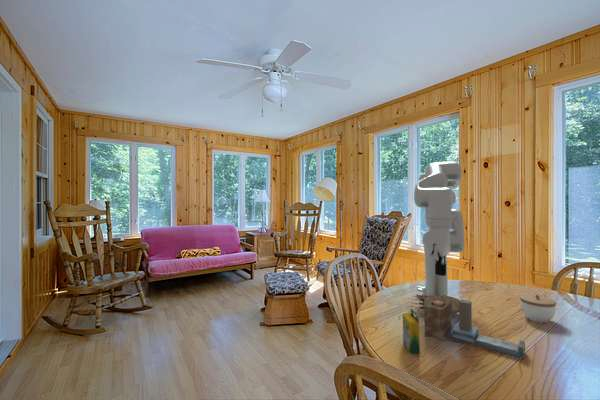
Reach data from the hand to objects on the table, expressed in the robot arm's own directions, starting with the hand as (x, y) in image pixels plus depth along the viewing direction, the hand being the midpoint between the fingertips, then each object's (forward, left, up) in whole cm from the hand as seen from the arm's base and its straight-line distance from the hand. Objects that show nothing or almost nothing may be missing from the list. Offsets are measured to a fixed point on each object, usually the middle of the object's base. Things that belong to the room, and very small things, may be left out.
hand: (440, 274), depth 105 cm
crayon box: (-3, -19, -20) cm, 28 cm away
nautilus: (-7, +15, -20) cm, 26 cm away
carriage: (+8, -2, -18) cm, 20 cm away
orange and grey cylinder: (0, -2, -16) cm, 16 cm away
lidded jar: (+25, +34, -20) cm, 46 cm away
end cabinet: (0, -2, -20) cm, 20 cm away
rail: (+13, -2, -20) cm, 24 cm away
